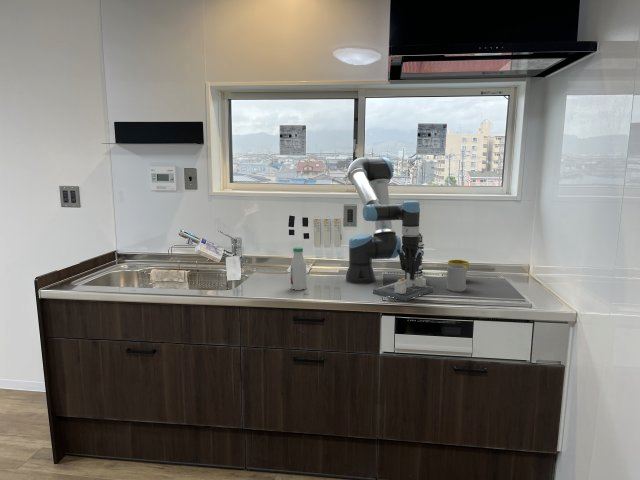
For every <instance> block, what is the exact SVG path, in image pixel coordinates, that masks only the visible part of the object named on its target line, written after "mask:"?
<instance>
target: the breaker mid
mask: <svg viewBox="0 0 640 480" xmlns="http://www.w3.org/2000/svg"><path fill="white" fill-rule="evenodd" d="M397 282H398V283H400V282H403V283H404V285H406V282H407V280H406V279H405V277H402V278H400V279H397ZM406 288H409V287H406Z"/></svg>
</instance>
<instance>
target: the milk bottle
mask: <svg viewBox="0 0 640 480" xmlns="http://www.w3.org/2000/svg"><path fill="white" fill-rule="evenodd" d="M292 251H293V256H292V259H291V262H290V288H292V289H291V290H293V289H295V290H294V291H302V290H301V289H304V290H306V289H307V287H308V277H307V274H308V273H307V261H306V260H305V257H304V255H303V252H304V248H303V247H302V246H301V247H300V246H299V247H298V246H297V247H293V249H292Z"/></svg>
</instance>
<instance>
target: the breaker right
mask: <svg viewBox="0 0 640 480" xmlns="http://www.w3.org/2000/svg"><path fill="white" fill-rule="evenodd" d="M415 286H419V287H424V286H427V278H424V275H423V276H420V277H418V278H415Z"/></svg>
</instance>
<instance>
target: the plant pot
mask: <svg viewBox="0 0 640 480" xmlns="http://www.w3.org/2000/svg"><path fill="white" fill-rule="evenodd" d="M449 265H463V266H466V274H467V273H468V270H469V268H470V261H468V260H464V259H450V260H447V267H448V266H449Z"/></svg>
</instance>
